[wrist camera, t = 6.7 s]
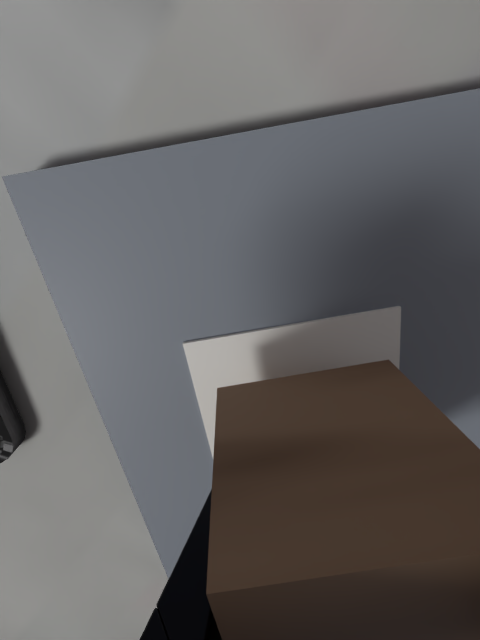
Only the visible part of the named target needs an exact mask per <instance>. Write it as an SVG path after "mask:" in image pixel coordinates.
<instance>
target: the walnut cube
mask: <svg viewBox="0 0 480 640" xmlns="http://www.w3.org/2000/svg"><path fill="white" fill-rule="evenodd" d="M206 595H207V598H208V601H209V604H210V607H211V610H212V612H213V615H214V618H215V621H216V624H217V627H218V630H219V632H220V635H221V638H222V640H480V449H479V448H478V447H477V446H476V445H475V444H474V443H473V442H472V441H471V440H470V439H469V438H468V437H467V436H466V435H465V434H464V433H463V432H462V431H461V430H460V429H459V428H458V427H457V426H456V425H455V424H454V423H453V422H452V421H451V420H450V419H449V418H448V417H447V416H446V415H445V414H444V413H442V412H441V411H440V410H439V409H438V408H437V407H436V406H435V405H434V404H433V403H432V402H431V401H430V400H429V399H428V398H427V397H426V396H425V395H424V394H423V393H422V392H421V391H420V390H419V389H418V388H417V387H416V386H415V385H414V384H413V383H412V382H411V381H410V380H409V379H408V378H407V377H406V376H405V375H404V374H403V373H402V372H401V371H400V370H399V369H398V368H397V367H396V366H395V365H394V364H393V363H392V362H391V361H390V360H383V361H377V362H371V363H365V364H359V365H353V366H347V367H341V368H334V369H328V370H322V371H316V372H310V373H304V374H298V375H292V376H286V377H280V378H274V379H268V380H262V381H256V382H250V383H244V384H238V385H232V386H226V387H220V388H217V400H216V418H215V437H214V456H213V475H212V494H211V513H210V532H209V551H208V569H207V588H206Z"/></svg>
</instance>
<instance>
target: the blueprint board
mask: <svg viewBox="0 0 480 640" xmlns="http://www.w3.org/2000/svg"><path fill="white" fill-rule="evenodd" d="M2 178H3V180H4V183H5V185H6V188H7V190H8V193H9V195H10V197H11V200H12V202H13V205H14V207H15V209H16V212H17V214H18V217H19V219H20V221H21V224H22V226H23V229H24V231H25V234H26V236H27V238H28V241H29V243H30V246H31V248H32V250H33V253H34V255H35V258H36V260H37V262H38V265H39V267H40V270H41V272H42V275H43V277H44V279H45V282H46V284H47V287H48V289H49V291H50V294H51V296H52V299H53V301H54V304H55V306H56V308H57V311H58V313H59V316H60V318H61V320H62V323H63V325H64V328H65V330H66V332H67V335H68V337H69V340H70V342H71V345H72V347H73V349H74V352H75V354H76V357H77V359H78V361H79V364H80V366H81V369H82V371H83V374H84V376H85V378H86V381H87V383H88V386H89V388H90V390H91V393H92V395H93V398H94V400H95V402H96V405H97V407H98V410H99V412H100V415H101V417H102V419H103V422H104V424H105V427H106V429H107V431H108V434H109V436H110V439H111V441H112V444H113V446H114V448H115V451H116V453H117V456H118V458H119V460H120V463H121V465H122V468H123V470H124V472H125V475H126V477H127V480H128V482H129V485H130V487H131V489H132V492H133V494H134V497H135V499H136V501H137V504H138V506H139V509H140V511H141V513H142V516H143V518H144V521H145V523H146V526H147V528H148V530H149V533H150V535H151V538H152V540H153V542H154V545H155V547H156V550H157V552H158V555H159V557H160V559H161V562H162V564H163V567H164V569H165V571H166V574H167V576H168V579H169V577H170V575H171V573H172V571H173V569H174V567H175V565H176V563H177V560H178V558H179V556H180V554H181V552H182V550H183V548H184V546H185V544H186V542H187V539H188V537H189V535H190V533H191V531H192V529H193V527H194V525H195V523H196V520H197V518H198V516H199V514H200V512H201V510H202V508H203V506H204V504H205V501H206V499H207V497H208V495H209V493H210V491H211V489H212V475H213V456H214V437H215V418H216V400H217V388H220V387H226V386H232V385H238V384H244V383H250V382H256V381H262V380H268V379H274V378H280V377H286V376H292V375H298V374H304V373H310V372H316V371H322V370H328V369H334V368H341V367H347V366H353V365H359V364H365V363H371V362H377V361H383V360H390V361H391V362H392V363H393V364H394V365H395V366H396V367H397V368H398V369H399V370H400V371H401V372H402V373H403V374H404V375H405V376H406V377H407V378H408V379H409V380H410V381H411V382H412V383H413V384H414V385H415V386H416V387H417V388H418V389H419V390H420V391H421V392H422V393H423V394H424V395H425V396H426V397H427V398H428V399H429V400H430V401H431V402H432V403H433V404H434V405H435V406H436V407H437V408H438V409H439V410H440V411H441V412H442V413H444V414H445V415H446V416H447V417H448V418H449V419H450V420H451V421H452V422H453V423H454V424H455V425H456V426H457V427H458V428H459V429H460V430H461V431H462V432H463V433H464V434H465V435H466V436H467V437H468V438H469V439H470V440H471V441H472V442H473V443H474V444H475V445H476V446H477V447H478V448H479V449H480V88H478V89H473V90H468V91H462V92H457V93H451V94H446V95H441V96H435V97H430V98H424V99H419V100H414V101H408V102H403V103H397V104H392V105H387V106H381V107H376V108H370V109H365V110H360V111H354V112H349V113H343V114H338V115H333V116H327V117H322V118H316V119H311V120H306V121H300V122H295V123H289V124H284V125H279V126H273V127H268V128H262V129H257V130H252V131H246V132H241V133H235V134H230V135H225V136H219V137H214V138H208V139H203V140H198V141H192V142H187V143H181V144H176V145H171V146H165V147H160V148H154V149H149V150H144V151H138V152H133V153H127V154H122V155H117V156H111V157H106V158H100V159H95V160H90V161H84V162H79V163H73V164H68V165H63V166H57V167H52V168H46V169H41V170H36V171H30V172H25V173H19V174H14V175H9V176H3V177H2Z"/></svg>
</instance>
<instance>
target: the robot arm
mask: <svg viewBox="0 0 480 640" xmlns="http://www.w3.org/2000/svg"><path fill="white" fill-rule="evenodd" d="M211 494H212V489H211V491H210V493H209V495H208V497H207V499H206V501H205V504H204V506H203V508H202V510H201V512H200V514H199V516H198V518H197V520H196V523H195V525H194V527H193V529H192V531H191V533H190V535H189V537H188V539H187V542H186V544H185V546H184V548H183V550H182V552H181V554H180V556H179V558H178V560H177V563H176V565H175V567H174V569H173V571H172V573H171V575H170V577H169V579H168V582H167V584H166V586H165V588H164V590H163V592H162V594H161V596H160V598H159V601H158V603H157V608H158V609H157V608H155V609H154V611H153V613H152V615H151V617H150V619H149V621H148V623H147V626H146V628H145V630H144V632H143V634H142V636H141V638H140V640H222V638H221V635H220V632H219V630H218V627H217V624H216V621H215V618H214V615H213V612H212V610H211V607H210V604H209V601H208V598H207V595H206V588H207V569H208V551H209V532H210V513H211Z"/></svg>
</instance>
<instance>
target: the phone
mask: <svg viewBox="0 0 480 640" xmlns="http://www.w3.org/2000/svg"><path fill="white" fill-rule="evenodd" d="M25 433H26V431H25V427H24V423H23V421H22V419H21V417H20V414H19V412H18V410H17V407H16V405H15V403H14V401H13V398H12V396H11V394H10V392H9V389H8V387H7V385H6V383H5V380H4V378H3V376H2V374H1V371H0V463H2V462H3V461H5V460H6V459H8V458H9V457H10V456H11V454H12V453H13V452H14V451H15V450H16V449H17V447H18V446H19V445H20V444H21V442H22V441H23V440H24V438H25Z"/></svg>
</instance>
